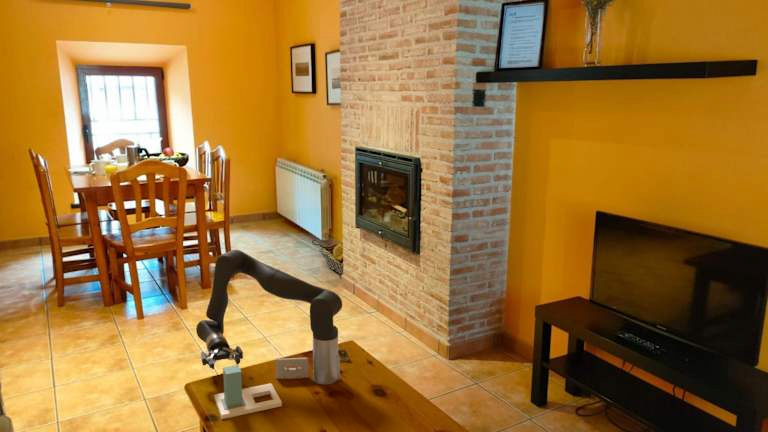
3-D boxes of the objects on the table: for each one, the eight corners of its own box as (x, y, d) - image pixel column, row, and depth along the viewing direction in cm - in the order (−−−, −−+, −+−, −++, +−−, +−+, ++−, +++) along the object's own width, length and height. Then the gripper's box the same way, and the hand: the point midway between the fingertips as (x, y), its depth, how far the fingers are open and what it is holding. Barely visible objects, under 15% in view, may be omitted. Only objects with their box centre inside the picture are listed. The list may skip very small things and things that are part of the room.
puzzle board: (271, 387, 208) (271, 382, 208) (281, 406, 196) (281, 401, 195) (214, 398, 200) (214, 394, 199) (221, 419, 187) (221, 414, 187)
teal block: (239, 397, 198) (238, 364, 195) (242, 404, 193) (241, 371, 191) (224, 400, 196) (223, 367, 193) (227, 407, 191) (225, 374, 189)
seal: (310, 362, 231) (345, 367, 227) (309, 352, 229) (345, 356, 226) (318, 350, 239) (352, 354, 236) (317, 340, 238) (352, 344, 234)
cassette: (275, 379, 214) (275, 360, 212) (276, 377, 216) (275, 358, 214) (308, 378, 215) (308, 359, 214) (308, 375, 217) (308, 356, 216)
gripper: (197, 339, 214) (204, 358, 199) (236, 333, 220) (245, 350, 205) (198, 358, 215) (205, 377, 201) (236, 351, 221) (246, 370, 207)
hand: (225, 364), depth 203 cm, fingers open, 8 cm apart
